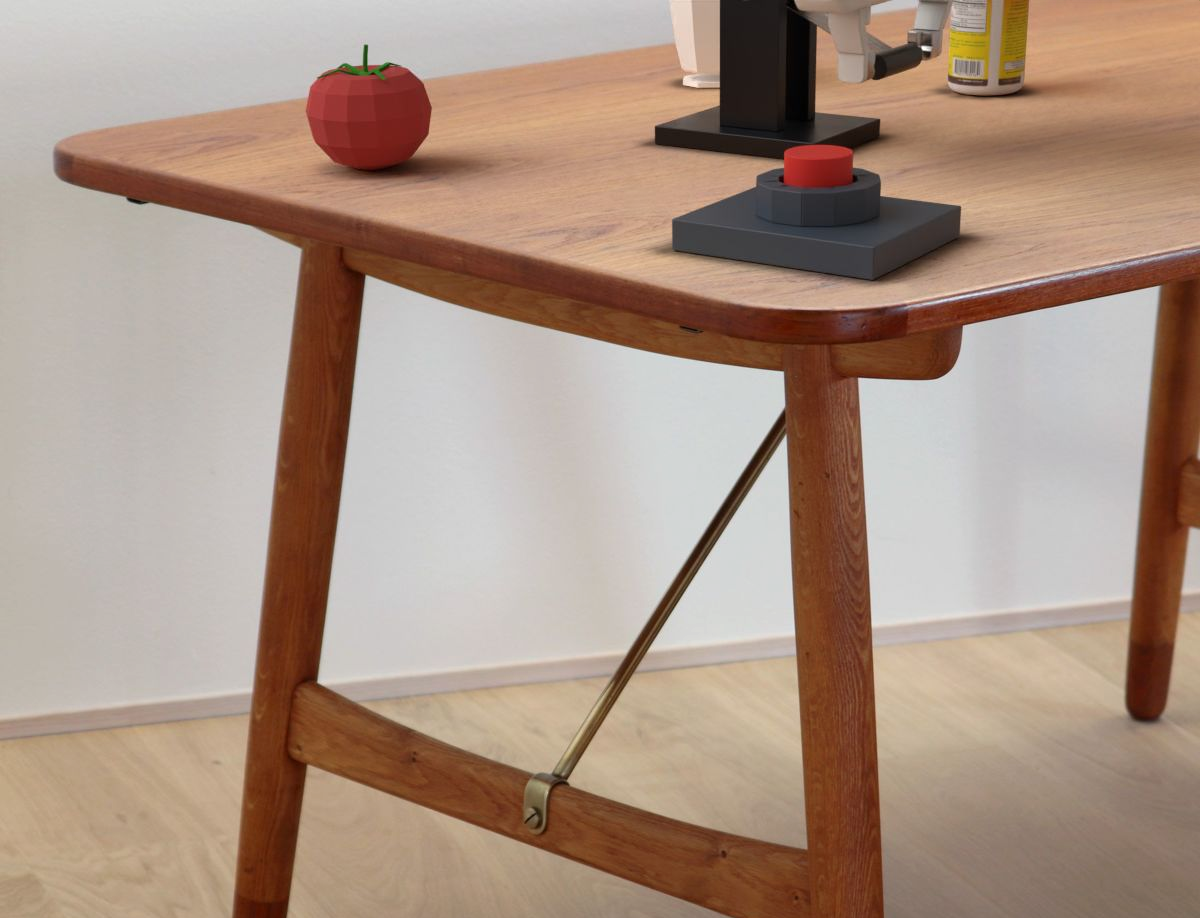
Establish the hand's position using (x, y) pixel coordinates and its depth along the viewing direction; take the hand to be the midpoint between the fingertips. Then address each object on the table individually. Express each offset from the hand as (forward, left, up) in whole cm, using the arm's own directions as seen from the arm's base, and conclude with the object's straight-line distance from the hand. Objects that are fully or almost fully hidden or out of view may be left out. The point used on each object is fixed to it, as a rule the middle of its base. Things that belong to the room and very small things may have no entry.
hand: (890, 69), depth 121 cm
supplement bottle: (+4, -23, -5) cm, 24 cm away
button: (-7, +22, -2) cm, 23 cm away
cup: (+24, -18, -5) cm, 30 cm away
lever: (+5, 0, +2) cm, 5 cm away
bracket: (+9, 0, -5) cm, 10 cm away
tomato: (+27, +19, -5) cm, 33 cm away
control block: (-7, +22, -5) cm, 24 cm away
